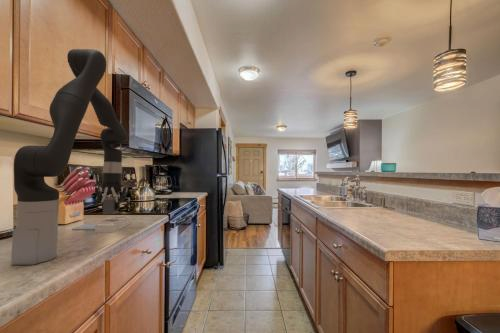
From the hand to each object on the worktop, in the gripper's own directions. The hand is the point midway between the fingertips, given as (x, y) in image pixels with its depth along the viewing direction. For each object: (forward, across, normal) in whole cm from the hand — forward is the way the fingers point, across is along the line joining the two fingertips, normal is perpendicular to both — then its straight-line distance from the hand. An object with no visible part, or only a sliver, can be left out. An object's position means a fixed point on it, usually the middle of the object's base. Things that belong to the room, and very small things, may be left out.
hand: (110, 210), depth 108 cm
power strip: (+8, 0, +4) cm, 9 cm away
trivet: (+8, -10, +4) cm, 14 cm away
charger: (+1, 0, 0) cm, 1 cm away
